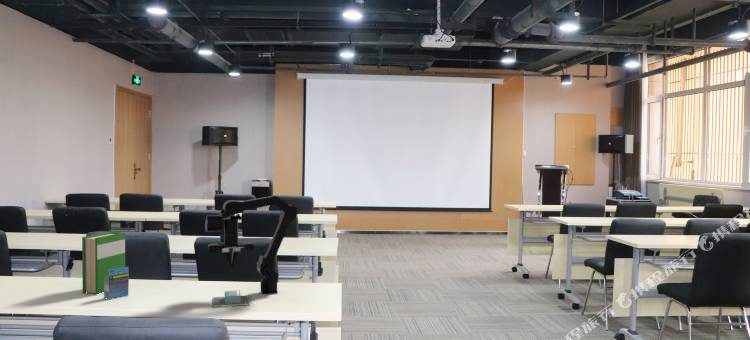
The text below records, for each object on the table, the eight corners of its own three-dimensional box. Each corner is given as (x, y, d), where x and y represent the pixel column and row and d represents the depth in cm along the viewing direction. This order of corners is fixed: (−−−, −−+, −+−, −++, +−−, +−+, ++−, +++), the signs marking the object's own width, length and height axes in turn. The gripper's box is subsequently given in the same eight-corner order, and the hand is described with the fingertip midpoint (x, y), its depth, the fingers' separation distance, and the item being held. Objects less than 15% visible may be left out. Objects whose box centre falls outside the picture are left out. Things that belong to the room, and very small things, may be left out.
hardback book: (97, 295, 248) (97, 238, 247) (82, 293, 250) (82, 237, 249) (125, 285, 265) (125, 232, 264) (111, 284, 267) (110, 231, 266)
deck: (224, 298, 243) (239, 297, 244) (225, 303, 234) (240, 303, 236) (224, 291, 243) (239, 290, 244) (225, 296, 234) (240, 295, 235)
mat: (247, 296, 248) (247, 295, 248) (249, 305, 234) (249, 304, 234) (213, 298, 244) (213, 297, 244) (213, 307, 230) (213, 306, 230)
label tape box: (123, 294, 250) (123, 265, 249) (129, 295, 247) (129, 266, 247) (103, 298, 242) (103, 268, 242) (109, 300, 240) (109, 269, 240)
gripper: (252, 227, 258) (252, 262, 259) (207, 228, 253) (208, 265, 254) (254, 230, 248) (254, 267, 248) (208, 232, 242) (208, 270, 243)
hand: (231, 267), depth 248 cm, fingers closed
